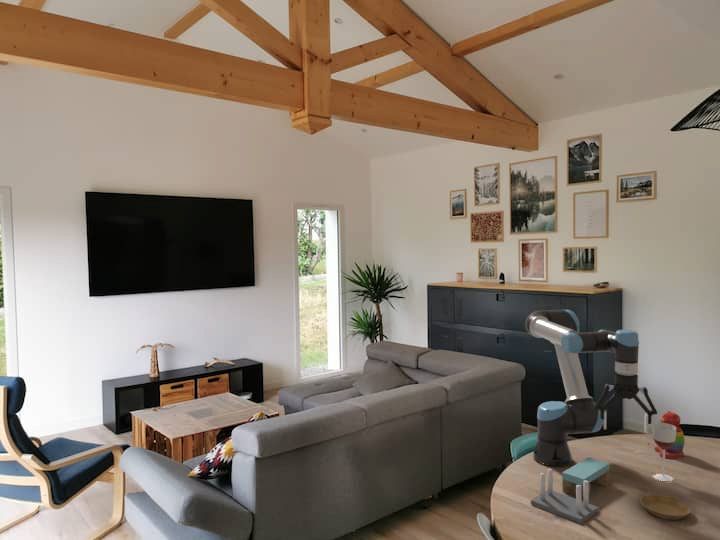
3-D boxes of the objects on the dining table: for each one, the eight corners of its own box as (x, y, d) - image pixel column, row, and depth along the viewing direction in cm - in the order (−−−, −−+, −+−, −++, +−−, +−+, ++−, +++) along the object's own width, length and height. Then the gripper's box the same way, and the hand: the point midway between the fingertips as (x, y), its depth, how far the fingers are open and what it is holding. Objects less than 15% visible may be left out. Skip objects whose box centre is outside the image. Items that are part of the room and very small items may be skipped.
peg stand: (530, 504, 188) (530, 474, 187) (548, 493, 196) (548, 464, 195) (580, 523, 174) (580, 491, 174) (598, 511, 182) (598, 480, 182)
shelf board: (583, 486, 190) (583, 479, 190) (562, 479, 196) (562, 472, 196) (609, 469, 203) (609, 463, 203) (588, 463, 209) (588, 457, 209)
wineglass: (674, 475, 209) (675, 424, 208) (677, 484, 201) (677, 431, 200) (651, 471, 212) (651, 421, 211) (652, 480, 204) (653, 428, 203)
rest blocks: (562, 491, 197) (562, 477, 197) (586, 476, 209) (586, 464, 209) (586, 499, 190) (586, 485, 190) (609, 484, 202) (609, 471, 202)
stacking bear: (653, 448, 236) (653, 408, 235) (678, 449, 234) (679, 409, 233) (661, 458, 225) (662, 416, 224) (688, 459, 223) (689, 417, 222)
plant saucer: (641, 498, 191) (641, 490, 191) (690, 507, 184) (690, 500, 184) (638, 516, 179) (638, 508, 179) (691, 527, 171) (691, 519, 171)
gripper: (589, 372, 198) (588, 429, 199) (667, 378, 189) (665, 437, 191) (588, 368, 205) (587, 423, 206) (663, 373, 196) (662, 430, 198)
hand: (625, 430), depth 199 cm, fingers open, 13 cm apart
